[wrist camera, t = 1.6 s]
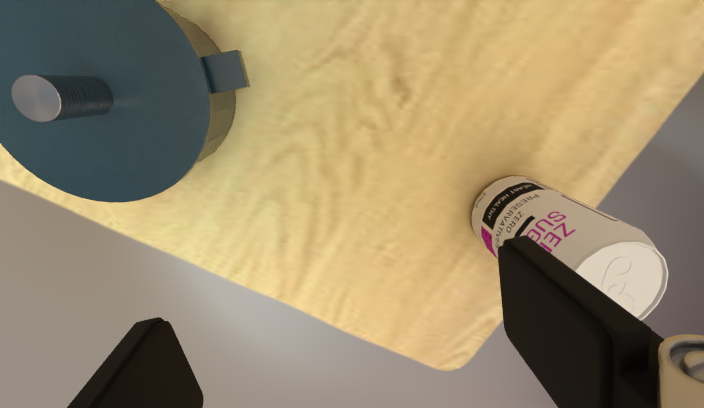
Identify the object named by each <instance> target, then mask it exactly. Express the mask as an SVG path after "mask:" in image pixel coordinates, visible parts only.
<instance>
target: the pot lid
mask: <svg viewBox="0 0 704 408" xmlns="http://www.w3.org/2000/svg"><path fill="white" fill-rule="evenodd" d="M211 122H212V97H211V89H210V84H209V80H208V76H207V73H206V70H205V67H204V65H203V62H202V59H201V57H200V55H199V53H198V51H197V49H196V47H195V45H194V44H193V42H192V41H191V39H190V37H189V36H188V34H187V33H186V31H185V30H184V29H183V27H182V26H181V25H180V24H179V23H178V21H177V20H176V19H175V18H174V17H173V16H172V15H171V14H170V13H169V12H168V11H167V10H166V9H165V8H164V7H163V6H162V5H161V4H160V3H159V2H157V1H156V0H0V143H1V144H2V145H3V147H4V148H5V149H6V150H7V151H8V152H9V153H10V154H11V155H12V156H13V158H15V159H16V160H17V161H18V162H19V163H20V164H21V165H22V166H24V167H25V168H26V169H27V170H29V171H30V172H31V173H33V174H34V175H35V176H37V177H38V178H40V179H41V180H43V181H45V182H46V183H48V184H50V185H52V186H53V187H56V188H58V189H60V190H62V191H64V192H67V193H69V194H72V195H75V196H78V197H81V198H86V199H90V200H95V201H103V202H129V201H137V200H141V199H145V198H148V197H151V196H154V195H156V194H159V193H161V192H163V191H165V190H166V189H168V188H170V187H171V186H173V185H175V184H176V183H177V182H178V181H180V180H181V179H182V178H183V177H185V176H186V175H187V173H188V172H189V171H190V170H191V169H192V168H193V167H194V165H195V164H196V162H197V161H198V159H199V158H200V156H201V154H202V152H203V150H204V148H205V146H206V143H207V140H208V137H209V133H210V128H211Z"/></svg>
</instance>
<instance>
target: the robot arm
mask: <svg viewBox="0 0 704 408" xmlns="http://www.w3.org/2000/svg"><path fill="white" fill-rule="evenodd" d="M498 262H499V274H500V285H501V297H502V308H503V320H504V328H505V331H506V334H507V336H508V338H509V339H510V341H511V342H512V344H513V345H514V347H515V348H516V349H517V351H518V352H519V354H520V355H521V356H522V358H523V359H524V360H525V362H526V363H527V365H528V366H529V367H530V369H531V370H532V372H533V373H534V374H535V376H536V377H537V378H538V380H539V381H540V383H541V384H542V385H543V387H544V388H545V390H546V391H547V393H548V394H549V395H550V397H551V398H552V400H553V401H554V402H555V404H556V405H557V406H558V408H704V336H700V335H692V334H689V335H676V336H673V337H670V338H667V339H665V340H664V339H663V338H662V337H660V336H659V335H658V334H656V333H655V332H654V331H652V330H651V328H650V327H648V326H647V325H646V324H644V323H643V322H642V321H640V320H639V319H638V318H636V317H635V316H634V315H632V314H631V313H630V312H628V311H627V310H626V309H624V308H623V307H622V306H620V305H619V304H618V303H616V302H615V301H614V300H612V299H611V298H610V297H608V296H607V295H606V294H604V293H603V292H602V291H600V290H599V289H598V288H596V287H595V286H594V285H592V284H591V283H590V282H588V281H587V280H586V279H584V278H583V277H582V276H580V275H579V274H578V273H576V272H575V271H574V270H572V269H571V268H570V267H568V266H567V265H566V264H564V263H563V262H562V261H560V260H559V259H558V258H556V257H555V256H554V255H552V254H551V253H550V252H548V251H547V250H546V249H544V248H543V247H542V246H540V245H539V244H538V243H536V242H535V241H534V240H532V239H531V238H530V237H528V236H526V235H523V236H519V237H514V238H510V239H505V240H504V241H503V246H499V247H498ZM202 407H203V394H202V391H201V389H200V387H199V385H198V382H197V380H196V378H195V376H194V374H193V372H192V369H191V367H190V365H189V363H188V361H187V358H186V356H185V354H184V352H183V350H182V347H181V345H180V343H179V341H178V339H177V337H176V335H175V332H174V330H173V328H172V326H171V324H170V323H169V322H168V321H164V320H163V319H162V318H159V317H158V318H153V319H149V320H144V321H140V322H137V323H136V324H134V325H133V327H132V328H131V329H130V330H129V332H128V333H127V334H126V335H125V337H124V338H123V339H122V340H121V341H120V343H119V344H118V345H117V346H116V348H115V349H114V350H113V351H112V353H111V354H110V355H109V356H108V358H107V359H106V360H105V361H104V362H103V364H102V365H101V366H100V367H99V369H98V370H97V371H96V372H95V374H94V375H93V376H92V377H91V379H90V380H89V381H88V382H87V384H86V385H85V386H84V387H83V389H82V390H81V391H80V392H79V393H78V395H77V396H76V397H75V398H74V400H73V401H72V402H71V403H70V405H69V406H68V407H67V408H202Z"/></svg>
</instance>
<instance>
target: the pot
mask: <svg viewBox="0 0 704 408" xmlns="http://www.w3.org/2000/svg"><path fill="white" fill-rule="evenodd" d="M164 8H165V7H164ZM165 9H166V10H167V11H168V12H169V13H170V14H171V15H172V16H173V17H174V18H175V19H176V20H177V21H178V23H179V24H180V25H181V26H182V27H183V29H184V30H185V31H186V33H187V34H188V36H189V37H190V39H191V41H192V42H193V44H194V45H195V47H196V49H197V51H198V53H199V55H200V57H201V59H202V62H203V65H204V67H205V70H206V73H207V76H208V80H209V84H210V89H211V97H212V122H211V128H210V133H209V137H208V140H207V143H206V146H205V148H204V150H203V152H202V154H201V156H200V158H199V159H198V161H197V162H196V163H198V162H199V161H201V160H202V159H204V158H205V157H207V156H209V155H210V154H212V153H213V152H215V151H216V149H217V148H218V147H219V145H220V144H221V143H222V142H223V140H224V139H225V137H226V136H227V134H228V132H229V130H230V128H231V125H232V122H233V119H234V113H235V104H236V96H235V90H236V89H241V88H246V87H250V84H249V80H248V77H247V73H246V69H245V65H244V62H243V58H242V54H241V51H238V50H235V51H229V52H224V53H221V52H220V50H219V49H218V47H217V46H216V45H215V43H214V42H213V41H212V40H211V38H210V37H209V36H207V35H206V34H205V33H204V32H203V31H202V30H201V29H200V28H199V27H198V26H197V25H196V24H194V23H192V22H190V21H189V20H187V19H185V18H184V17H182V16H180V15H178V14H177V13H175V12H173V11H171V10H169V9H167V8H165Z"/></svg>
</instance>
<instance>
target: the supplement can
mask: <svg viewBox="0 0 704 408" xmlns="http://www.w3.org/2000/svg"><path fill="white" fill-rule="evenodd" d="M472 228H473V230H474V232H475V234H476V236H477V238H478V239H479V240H480V241H481V242H482V243H483V244H484V245H485V246H486V247H487V248H488V249H489V251H490V252H491V253H492V254H493V255H494V256H495V257H496V258H497V259H498V247H499V246H503V241H504V240H505V239H510V238H514V237H519V236H523V235H526V236H528V237H530V238H531V239H532V240H534V241H535V242H536V243H538V244H539V245H540V246H542V247H543V248H544V249H546V250H547V251H548V252H550V253H551V254H552V255H554V256H555V257H556V258H558V259H559V260H560V261H562V262H563V263H564V264H566V265H567V266H568V267H570V268H571V269H572V270H574V271H575V272H576V273H578V274H579V275H580V276H582V277H583V278H584V279H586V280H587V281H588V282H590V283H591V284H592V285H594V286H595V287H596V288H598V289H599V290H600V291H602V292H603V293H604V294H606V295H607V296H608V297H610V298H611V299H612V300H614V301H615V302H616V303H618V304H619V305H620V306H622V307H623V308H624V309H626V310H627V311H628V312H630V313H631V314H632V315H634V316H635V317H636V318H638V319H639V320H640V321H641V320H642V319H644V318H645V317H646V316H647V315H648V314H649V313H650V312H651V311H652V310H653V309H654V308H655V307H656V306H657V304H658V303H659V301H660V299H661V297H662V296H663V294H664V292H665V290H666V286H667V280H668V269H667V265H666V261H665V259H664V257H663V256H662V255H661V254H660V253H659V252H658V251H657V249H656V247H655V246H654V244H653V242H652V241H651V240H650V239H649V238H648V237H647V236H646V235H645V234H644V232H643V231H642V230H640V229H637V228H635V227H633V226H631V225H629V224H627V223H624V222H622V221H620V220H618V219H616V218H614V217H612V216H610V215H607V214H605V213H603V212H601V211H599V210H597V209H595V208H593V207H590V206H588V205H586V204H584V203H582V202H580V201H578V200H575V199H573V198H571V197H569V196H567V195H565V194H563V193H560V192H558V191H556V190H554V189H552V188H550V187H548V186H546V185H543V184H541V183H539V182H537V181H535V180H532V179H530V178H527V177H525V176H509V177H506V178H503V179H500V180H497V181H496V182H494V183H493V184H491V185H490V186H489V187H487V188H486V189H485V190H484V191H483V192H482V194H481V195H480V196H479V198H478V199H477V200H476V202H475V206H474V209H473V212H472Z"/></svg>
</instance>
